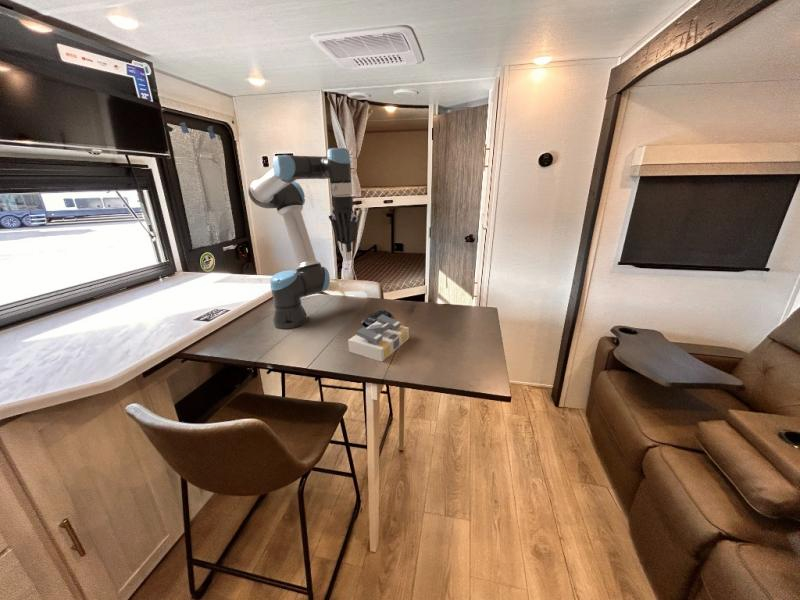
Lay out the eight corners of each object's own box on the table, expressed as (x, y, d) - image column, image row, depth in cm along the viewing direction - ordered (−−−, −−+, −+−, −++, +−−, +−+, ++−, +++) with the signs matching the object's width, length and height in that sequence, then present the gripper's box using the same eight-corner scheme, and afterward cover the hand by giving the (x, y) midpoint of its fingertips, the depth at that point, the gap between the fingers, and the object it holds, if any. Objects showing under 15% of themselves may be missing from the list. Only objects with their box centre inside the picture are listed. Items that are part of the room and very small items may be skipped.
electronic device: (376, 317, 152) (357, 325, 140) (377, 306, 150) (358, 313, 138) (392, 323, 148) (373, 332, 135) (393, 312, 146) (375, 320, 134)
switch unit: (349, 351, 119) (347, 337, 117) (378, 330, 135) (378, 317, 132) (382, 362, 111) (381, 346, 109) (409, 338, 127) (409, 324, 125)
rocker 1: (356, 334, 116) (356, 330, 115) (363, 330, 119) (363, 326, 118) (376, 343, 112) (376, 339, 111) (382, 339, 115) (382, 335, 115)
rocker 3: (376, 321, 126) (377, 317, 125) (382, 317, 129) (382, 313, 128) (395, 330, 123) (395, 326, 122) (400, 326, 126) (400, 322, 125)
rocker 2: (367, 333, 122) (366, 328, 121) (373, 329, 125) (372, 324, 125) (385, 331, 117) (384, 326, 116) (391, 327, 120) (389, 322, 119)
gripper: (321, 196, 112) (328, 260, 120) (349, 196, 106) (354, 264, 114) (335, 195, 118) (340, 256, 126) (362, 195, 112) (366, 259, 120)
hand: (347, 259), depth 120 cm, fingers closed
